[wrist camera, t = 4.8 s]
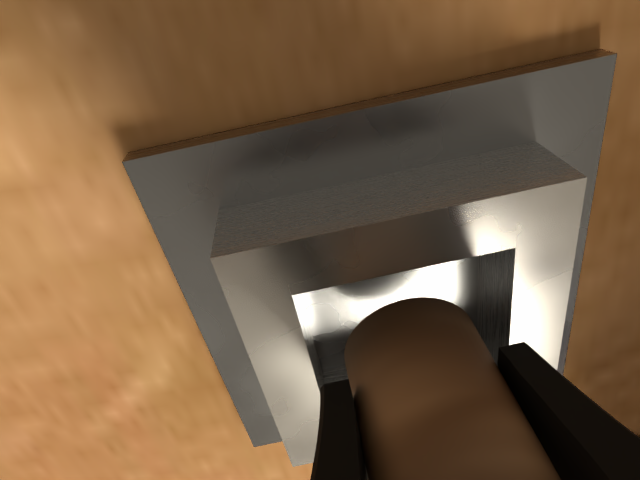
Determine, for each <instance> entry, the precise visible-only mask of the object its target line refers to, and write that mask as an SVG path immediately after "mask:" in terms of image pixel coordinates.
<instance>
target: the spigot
mask: <svg viewBox="0 0 640 480" xmlns="http://www.w3.org/2000/svg"><path fill="white" fill-rule="evenodd" d="M344 360H345V365H346V370H347V375H348V379H349V383H350V387H351V391H352V396H353V400H354V405H355V410H356V415H357V420H358V425H359V430H360V435H361V441H362V448H363V455H364V460H365V465H366V470H367V476H368V480H561V478H560V477H559V475H558V473H557V471H556V470H555V468H554V466H553V464H552V462H551V461H550V459H549V457H548V455H547V454H546V452H545V450H544V448H543V446H542V445H541V443H540V441H539V439H538V438H537V436H536V434H535V432H534V430H533V429H532V427H531V425H530V423H529V422H528V420H527V418H526V416H525V414H524V413H523V411H522V409H521V407H520V406H519V404H518V402H517V400H516V398H515V397H514V395H513V393H512V391H511V390H510V388H509V386H508V384H507V382H506V381H505V379H504V377H503V375H502V374H501V372H500V370H499V368H498V366H497V365H496V363H495V361H494V359H493V358H492V356H491V354H490V352H489V350H488V349H487V347H486V345H485V343H484V342H483V340H482V338H481V336H480V334H479V333H478V331H477V329H476V327H475V326H474V324H473V322H472V320H471V319H470V317H469V316H468V314H467V313H466V312H465V311H464V310H463V309H461V308H460V307H459V306H457V305H455V304H453V303H451V302H449V301H446V300H443V299H438V298H430V297H417V298H408V299H404V300H399V301H396V302H393V303H390V304H388V305H385V306H383V307H381V308H379V309H377V310H376V311H374V312H372V313H371V314H370V315H368V316H367V317H365V318H364V319H363V320H362V321H361V322H360V323H359V324H358V325H357V326H356V327H355V328H354V330H353V331H352V333H351V334H350V336H349V338H348V340H347V343H346V346H345V351H344Z"/></svg>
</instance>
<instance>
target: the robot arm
mask: <svg viewBox="0 0 640 480" xmlns="http://www.w3.org/2000/svg"><path fill="white" fill-rule="evenodd" d="M498 368H499V370H500V372H501V374H502V375H503V377H504V379H505V381H506V382H507V384H508V386H509V388H510V390H511V391H512V393H513V395H514V397H515V398H516V400H517V402H518V404H519V406H520V407H521V409H522V411H523V413H524V414H525V416H526V418H527V420H528V422H529V423H530V425H531V427H532V429H533V430H534V432H535V434H536V436H537V438H538V439H539V441H540V443H541V445H542V446H543V448H544V450H545V452H546V454H547V455H548V457H549V459H550V461H551V462H552V464H553V466H554V468H555V470H556V471H557V473H558V475H559V477H560V478H561V480H640V438H639V437H638V436H637V435H635V434H634V433H633V432H631V431H630V430H629V429H628V428H626V427H625V426H624V425H622V424H621V423H620V422H618V421H617V420H616V419H615V418H613V417H612V416H611V415H610V414H608V413H607V412H606V411H605V410H604V409H602V408H601V407H600V406H599V405H597V404H596V403H595V402H594V401H592V400H591V399H590V398H589V397H587V396H586V395H585V394H584V393H583V392H581V391H580V390H579V389H578V388H577V387H576V386H574V385H573V384H572V383H571V382H570V381H569V380H567V379H566V378H565V377H564V376H563V375H562V374H560V373H559V372H558V371H557V370H556V369H555V368H554V367H552V366H551V365H550V364H549V363H548V362H547V361H546V360H545V359H543V358H542V357H541V356H540V355H539V354H538V353H537V352H536V351H535V350H533V349H532V348H531V347H530V346H529V345H528V344H526V343H525V342H521V343H516V344H511V345H507V346H502V347H499V348H498ZM310 480H368V476H367V470H366V465H365V460H364V455H363V448H362V441H361V435H360V430H359V425H358V420H357V415H356V410H355V405H354V400H353V396H352V391H351V387H350V383H349V379H346V380H342V381H337V382H332V383H327V384H324V385H323V386H322V387H321V388H320V416H319V427H318V435H317V443H316V450H315V456H314V462H313V468H312V474H311V479H310Z"/></svg>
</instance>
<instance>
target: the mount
mask: <svg viewBox="0 0 640 480" xmlns="http://www.w3.org/2000/svg"><path fill="white" fill-rule="evenodd" d="M616 57H617V53H613V52H610V51H606V50H603V49H599V50H595V51H590V52H585V53H581V54H576V55H572V56H567V57H563V58H558V59H554V60H549V61H544V62H540V63H535V64H531V65H526V66H522V67H517V68H512V69H508V70H503V71H499V72H494V73H490V74H485V75H481V76H476V77H471V78H467V79H462V80H458V81H453V82H449V83H444V84H439V85H435V86H430V87H426V88H421V89H417V90H412V91H408V92H403V93H398V94H394V95H389V96H385V97H380V98H376V99H371V100H366V101H362V102H357V103H353V104H348V105H344V106H339V107H335V108H330V109H325V110H321V111H316V112H312V113H307V114H303V115H298V116H293V117H289V118H284V119H280V120H275V121H271V122H266V123H262V124H257V125H252V126H248V127H243V128H239V129H234V130H230V131H225V132H220V133H216V134H211V135H207V136H202V137H198V138H193V139H189V140H184V141H179V142H175V143H170V144H166V145H161V146H157V147H152V148H147V149H143V150H138V151H134V152H129V153H128V154H127V156H126V157H125V159H124V160H123V161H122V163H123V165H124V167H125V169H126V171H127V174H128V176H129V178H130V180H131V182H132V184H133V187H134V189H135V191H136V193H137V195H138V197H139V200H140V202H141V204H142V206H143V208H144V210H145V213H146V215H147V217H148V219H149V221H150V223H151V225H152V228H153V230H154V232H155V234H156V236H157V238H158V241H159V243H160V245H161V247H162V249H163V251H164V254H165V256H166V258H167V260H168V262H169V264H170V266H171V269H172V271H173V273H174V275H175V277H176V279H177V282H178V284H179V286H180V288H181V290H182V292H183V295H184V297H185V299H186V301H187V303H188V305H189V308H190V310H191V312H192V314H193V316H194V318H195V320H196V323H197V325H198V327H199V329H200V331H201V333H202V336H203V338H204V340H205V342H206V344H207V346H208V349H209V351H210V353H211V355H212V357H213V359H214V361H215V364H216V366H217V368H218V370H219V372H220V374H221V377H222V379H223V381H224V383H225V385H226V387H227V390H228V392H229V394H230V396H231V398H232V400H233V403H234V405H235V407H236V409H237V411H238V413H239V415H240V418H241V420H242V422H243V424H244V426H245V428H246V431H247V433H248V435H249V437H250V439H251V441H252V444H253V446H254V447H257V446H262V445H266V444H271V443H276V442H281V441H283V443H284V446H285V448H286V451H287V453H288V456H289V458H290V461H291V463H292V466H293V467H294V466H299V465H304V464H309V463H313V462H314V456H315V450H316V443H317V435H318V427H319V416H320V388H321V387H322V386H323V385H324V384H327V383H332V382H337V381H342V380H346V379H348V375H347V370H346V365H345V360H344V351H345V346H346V343H347V340H348V338H349V336H350V334H351V333H352V331H353V330H354V328H355V327H356V326H357V325H358V324H359V323H360V322H361V321H362V320H363V319H364V318H365V317H367V316H368V315H370V314H371V313H372V312H374V311H376V310H377V309H379V308H381V307H383V306H385V305H388V304H390V303H393V302H396V301H399V300H404V299H408V298H417V297H430V298H438V299H443V300H446V301H449V302H451V303H453V304H455V305H457V306H459V307H460V308H461V309H463V310H464V311H465V312H466V313H467V314H468V316H469V317H470V319H471V320H472V322H473V324H474V326H475V327H476V329H477V331H478V333H479V334H480V336H481V338H482V340H483V342H484V343H485V345H486V347H487V349H488V350H489V352H490V354H491V356H492V358H493V359H494V361H495V363H496V365H497V366H498V348H499V347H502V346H507V345H511V344H516V343H521V342H525V343H526V344H528V345H529V346H530V347H531V348H532V349H533V350H535V351H536V352H537V353H538V354H539V355H540V356H541V357H542V358H543V359H545V360H546V361H547V362H548V363H549V364H550V365H551V366H552V367H554V368H555V369H556V370H557V371H558V372H559V373H560V374H562V375H563V372H564V366H565V360H566V355H567V349H568V343H569V337H570V331H571V325H572V319H573V313H574V307H575V301H576V295H577V289H578V283H579V277H580V271H581V265H582V259H583V254H584V248H585V242H586V236H587V230H588V224H589V218H590V212H591V206H592V200H593V194H594V188H595V182H596V176H597V170H598V164H599V158H600V152H601V147H602V141H603V135H604V129H605V123H606V117H607V111H608V105H609V99H610V93H611V87H612V81H613V75H614V69H615V63H616Z"/></svg>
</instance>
